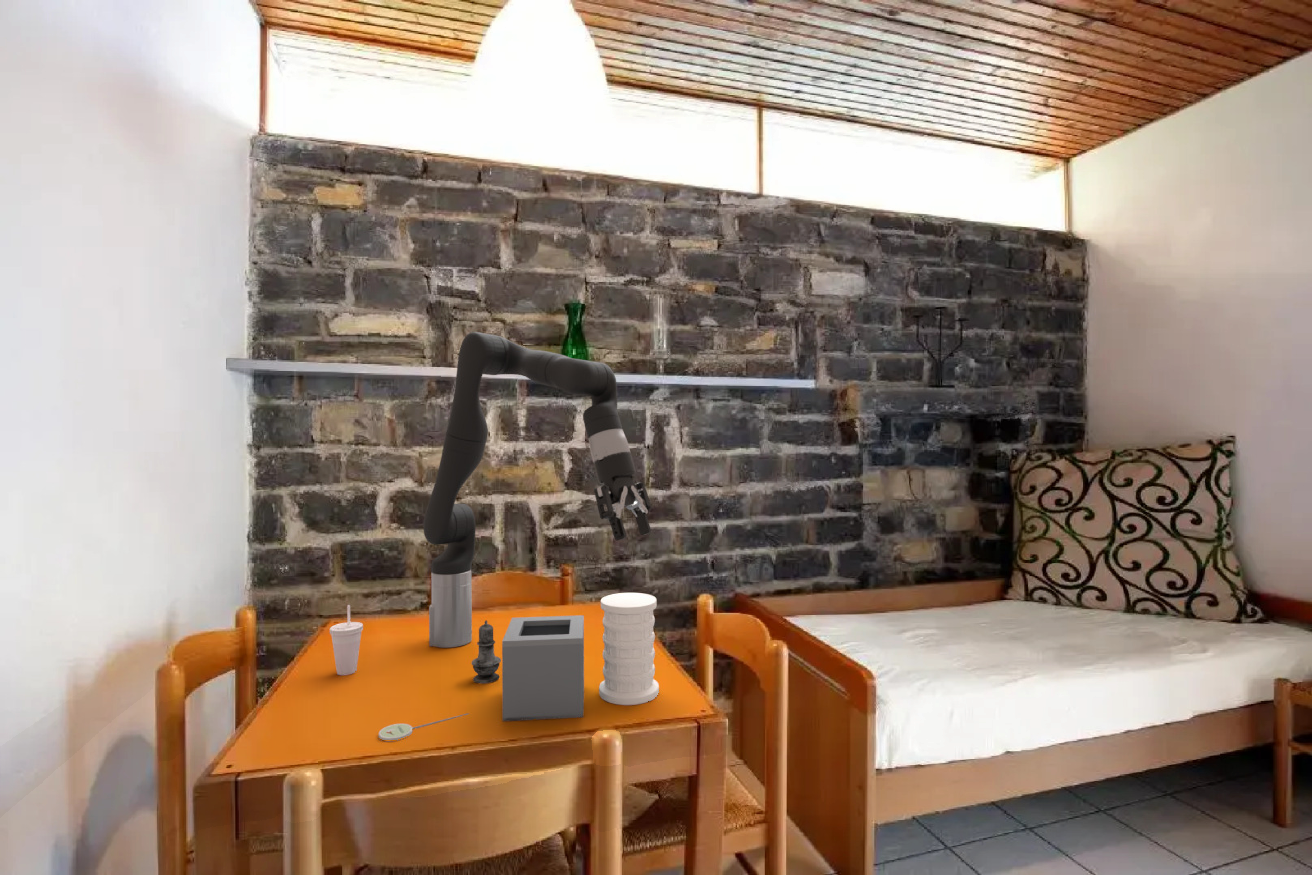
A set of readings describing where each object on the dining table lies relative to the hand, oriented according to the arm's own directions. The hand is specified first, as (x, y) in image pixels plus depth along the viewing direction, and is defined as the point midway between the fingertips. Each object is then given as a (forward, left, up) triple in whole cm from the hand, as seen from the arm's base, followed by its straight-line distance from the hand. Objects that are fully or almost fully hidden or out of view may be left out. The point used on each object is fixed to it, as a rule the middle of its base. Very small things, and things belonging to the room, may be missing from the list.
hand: (633, 536), depth 119 cm
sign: (-37, -8, -31) cm, 49 cm away
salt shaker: (-30, +12, -31) cm, 44 cm away
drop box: (-17, -1, -31) cm, 35 cm away
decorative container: (-1, +2, -31) cm, 31 cm away
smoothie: (-60, +19, -31) cm, 70 cm away
